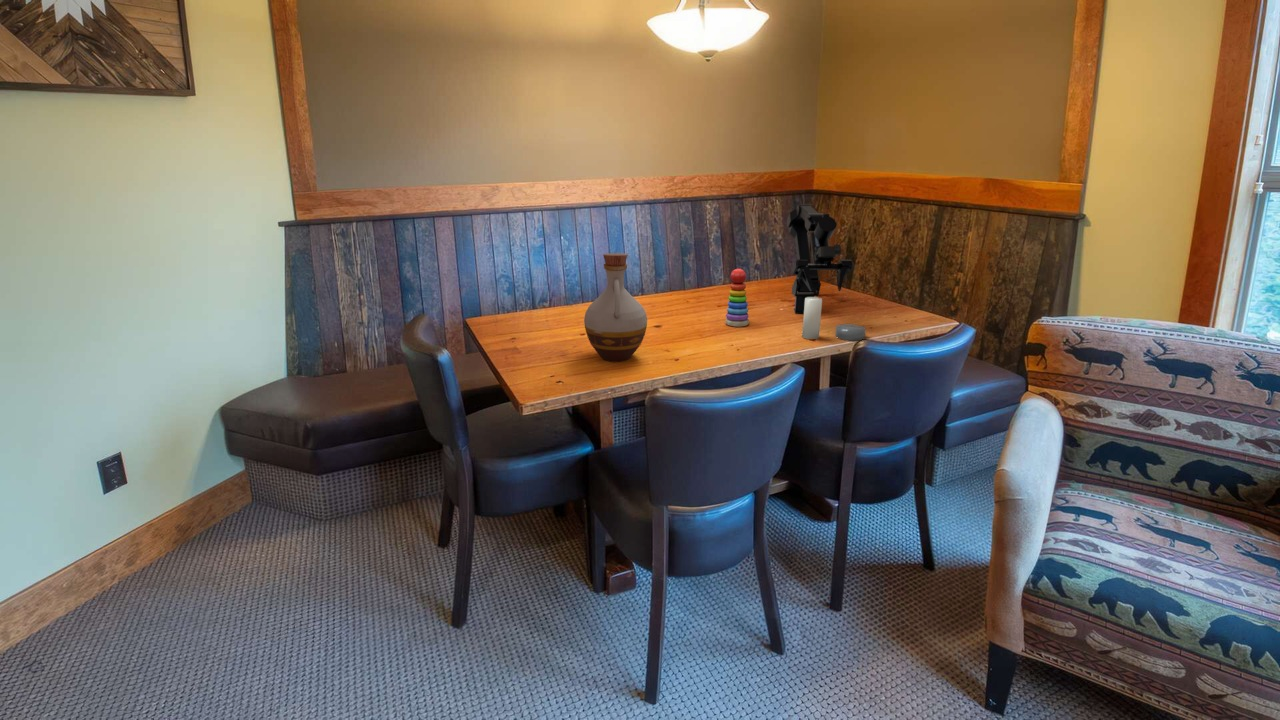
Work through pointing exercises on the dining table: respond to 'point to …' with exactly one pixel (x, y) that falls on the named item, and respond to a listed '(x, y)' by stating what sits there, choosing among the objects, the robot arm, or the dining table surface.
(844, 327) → the plinth
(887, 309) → the dining table surface
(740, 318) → the stacking toy
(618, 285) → the jug
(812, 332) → the tapered white cylinder
